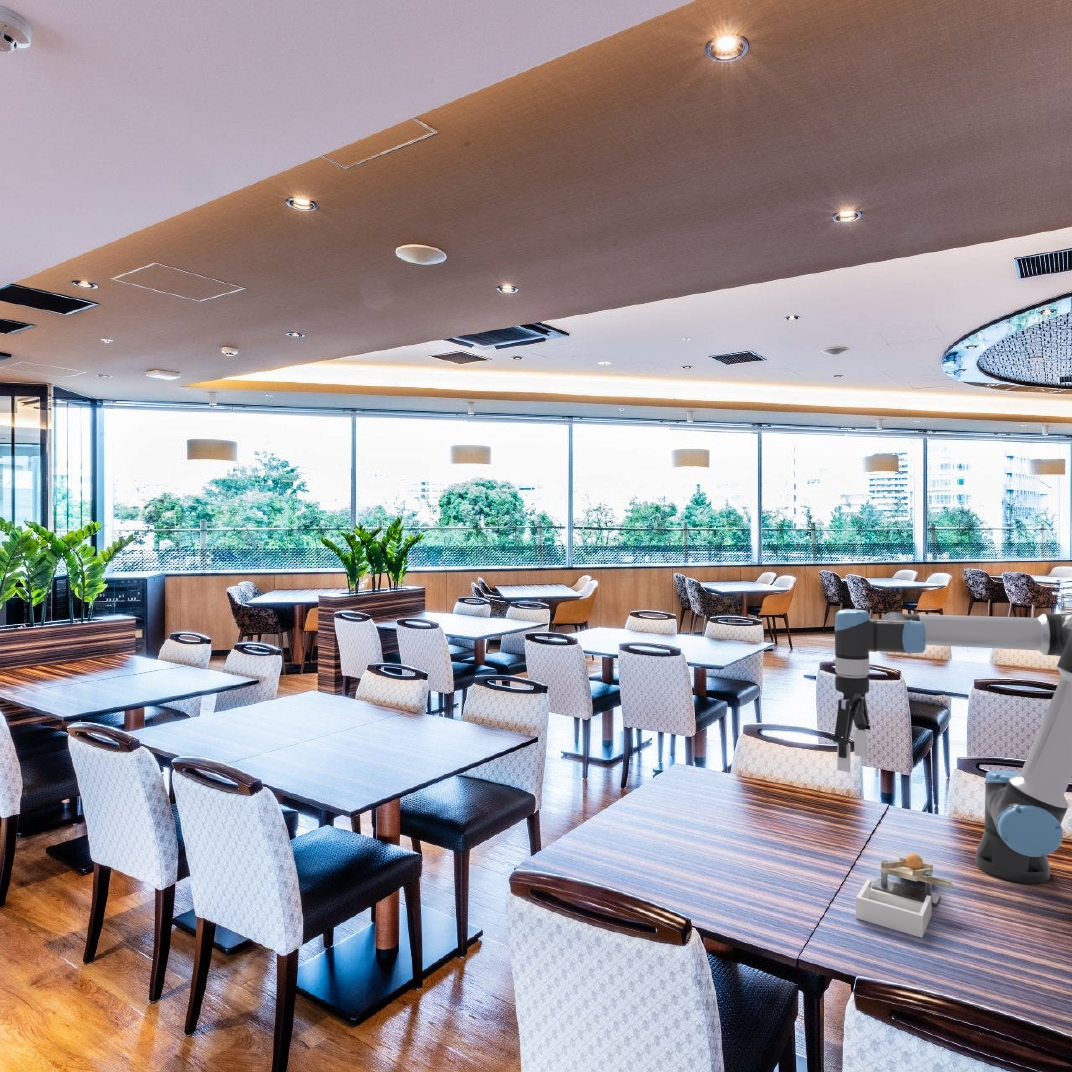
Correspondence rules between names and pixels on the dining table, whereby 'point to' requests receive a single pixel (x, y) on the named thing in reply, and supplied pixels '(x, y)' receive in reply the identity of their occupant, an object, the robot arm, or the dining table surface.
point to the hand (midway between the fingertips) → (852, 763)
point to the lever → (913, 872)
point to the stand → (906, 889)
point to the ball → (914, 861)
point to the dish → (893, 910)
